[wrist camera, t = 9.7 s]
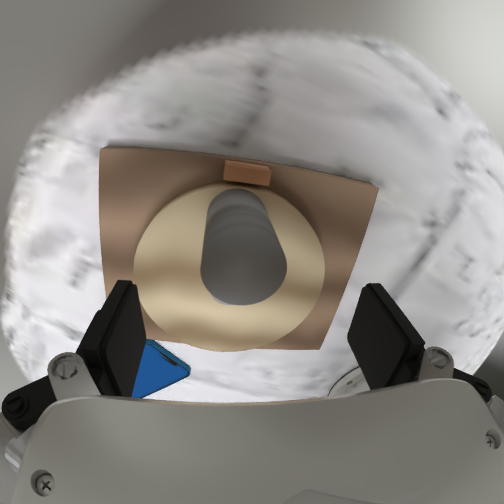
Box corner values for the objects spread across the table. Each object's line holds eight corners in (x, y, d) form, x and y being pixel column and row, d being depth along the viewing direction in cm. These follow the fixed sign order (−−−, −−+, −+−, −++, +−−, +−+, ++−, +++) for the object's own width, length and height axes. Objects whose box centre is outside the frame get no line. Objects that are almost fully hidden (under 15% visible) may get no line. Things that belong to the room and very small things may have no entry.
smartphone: (83, 380, 31) (145, 339, 28) (85, 374, 32) (147, 333, 28) (124, 406, 34) (194, 373, 31) (125, 401, 35) (194, 367, 32)
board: (316, 340, 31) (324, 362, 28) (115, 323, 27) (107, 347, 24) (370, 183, 23) (391, 195, 20) (107, 146, 19) (89, 153, 16)
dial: (298, 338, 28) (320, 410, 20) (146, 333, 26) (130, 408, 18) (335, 192, 21) (395, 243, 13) (135, 176, 19) (84, 221, 11)
